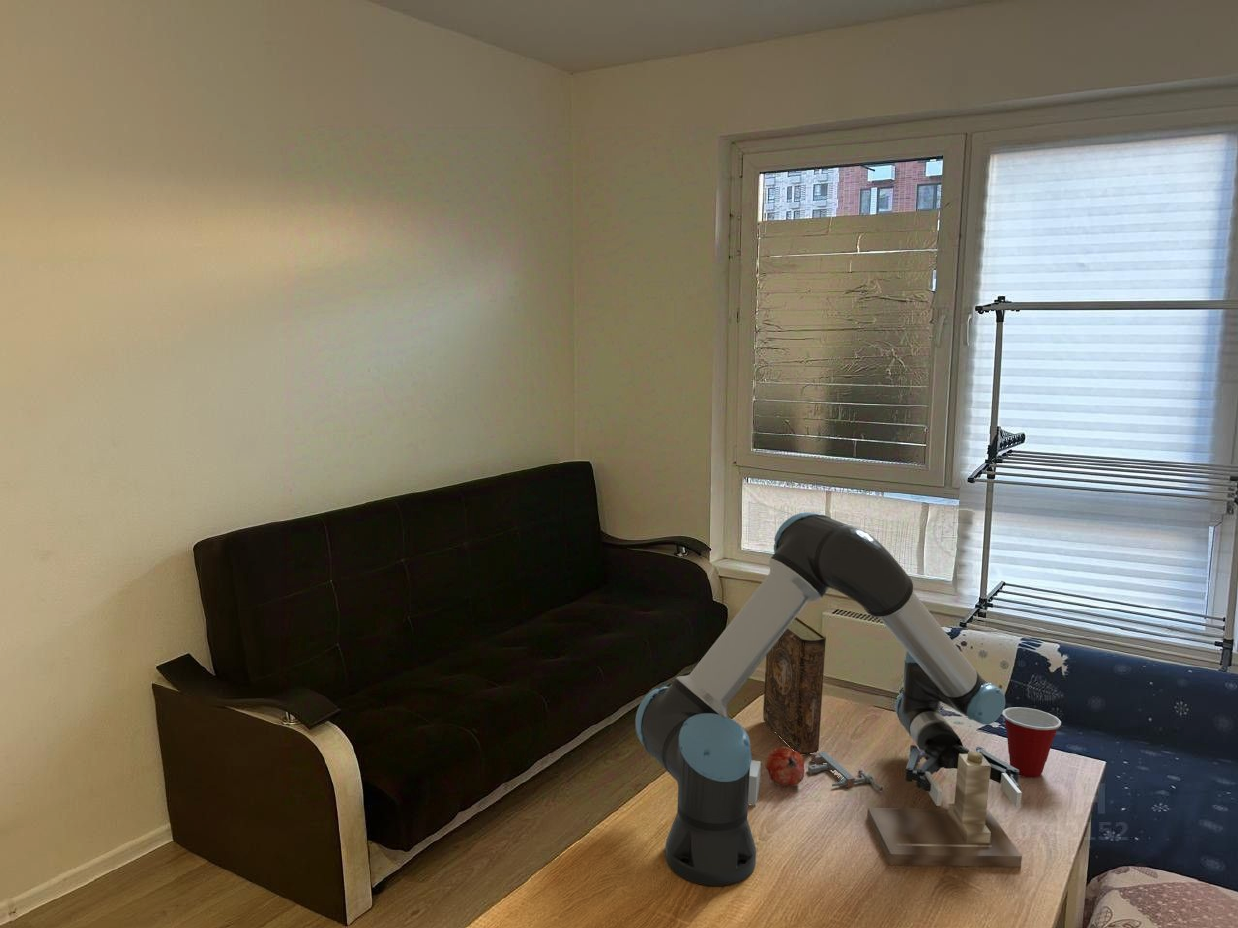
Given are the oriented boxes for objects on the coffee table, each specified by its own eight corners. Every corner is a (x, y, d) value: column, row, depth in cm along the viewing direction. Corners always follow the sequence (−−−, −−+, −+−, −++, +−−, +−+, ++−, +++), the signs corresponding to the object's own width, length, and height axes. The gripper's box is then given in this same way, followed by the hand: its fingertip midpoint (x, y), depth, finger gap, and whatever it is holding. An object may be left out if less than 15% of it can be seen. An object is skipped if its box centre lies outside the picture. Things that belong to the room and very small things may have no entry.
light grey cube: (728, 785, 177) (729, 756, 176) (759, 790, 175) (761, 761, 174) (723, 801, 171) (724, 771, 170) (755, 806, 170) (757, 776, 168)
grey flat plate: (889, 864, 153) (890, 853, 152) (867, 817, 166) (867, 807, 166) (1020, 866, 153) (1022, 855, 152) (987, 819, 167) (988, 809, 166)
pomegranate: (760, 787, 180) (770, 779, 172) (762, 749, 184) (772, 740, 175) (797, 792, 180) (809, 785, 171) (798, 754, 184) (810, 745, 175)
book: (821, 752, 190) (829, 638, 185) (798, 756, 188) (805, 641, 184) (784, 717, 205) (790, 612, 201) (762, 720, 204) (768, 614, 199)
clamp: (798, 754, 185) (840, 747, 189) (798, 764, 186) (840, 757, 189) (840, 792, 172) (885, 784, 175) (839, 803, 172) (884, 794, 175)
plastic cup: (1049, 761, 188) (1056, 707, 186) (1059, 788, 178) (1066, 731, 176) (993, 753, 191) (999, 700, 189) (1000, 779, 181) (1006, 723, 179)
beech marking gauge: (966, 842, 156) (973, 767, 153) (947, 813, 165) (954, 741, 162) (989, 843, 156) (997, 767, 153) (969, 813, 165) (976, 741, 162)
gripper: (998, 758, 177) (1049, 820, 157) (870, 756, 177) (904, 817, 156) (1002, 722, 176) (1054, 780, 155) (873, 720, 176) (908, 777, 155)
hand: (979, 799), depth 156 cm, fingers open, 13 cm apart
